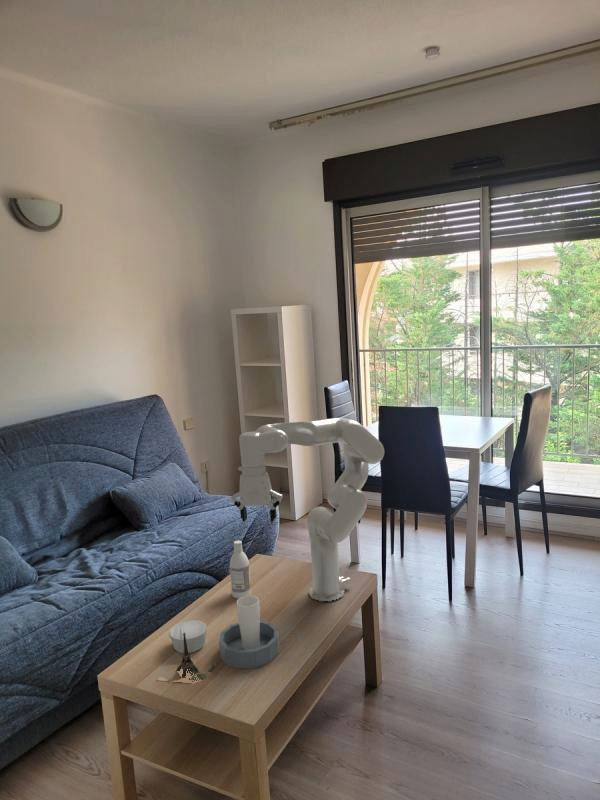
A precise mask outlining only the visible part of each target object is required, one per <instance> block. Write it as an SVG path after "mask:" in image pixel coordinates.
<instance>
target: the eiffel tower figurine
mask: <svg viewBox="0 0 600 800" xmlns="http://www.w3.org/2000/svg"><path fill="white" fill-rule="evenodd" d="M185 635H186V634H185V633H183V636H184V653H182V659H181V661H180V664H179V666H178V667H177V668H176V670H177V671H180V669H181V668H182V669H183V674H182V678H186V677H185V676H186V671H187V669H188V671H189V673H190V674H191V676H192V675H193V673H194V675H193V676H192V678H191V679H190V678H189V680H194V681H195V680H196V678H197V680H198V679H199V680H200V679H201V680H204V679H205V680H206V679H207V677H208V673H210V674H211V673H214V670H215V668H216V667H217V663H214V664H213V665H212V666H211V667H210V668H208V669H207V672H206V673H201V671H200V670H199V669H198V668H197V666H196V664H194V661H193V660H192V659H191V656H190V653H188V649H187V643H186V637H185ZM195 666H196V667H195ZM189 669H190V670H189ZM188 671H187V673H188ZM190 671H191V672H192V673H191V672H190ZM195 674H196V675H197V676H196V675H195ZM194 676H196V677H194ZM194 678H195V679H194ZM197 680H196V681H197ZM199 680H198V681H199ZM205 680H204V681H205ZM192 682H193V681H192Z"/></svg>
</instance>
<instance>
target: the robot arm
mask: <svg viewBox="0 0 600 800" xmlns="http://www.w3.org/2000/svg"><path fill="white" fill-rule="evenodd" d="M238 441H239V451H240V461H241V466H238V467H237V471H239V472H241V474H240V475H239V491H238V492H236V493H234V494H233V495H232V496H230V498H231V500H232V502H233V504H234V505H235V506H236V507H237V508H238V510H239V513H240V519H241V521H242V522H243V523H244V522H246V521H247V519H248V511H247V506H253V507H255V506H258V507H259V506H268V507H269V508H270V510H269V516H270V517H269V518H270V522H272V523H273V522H274V521H275V520H276V519H277V507H278V506H279V505H280V504H281V502H282V499H283V497H284V496H283V494H281V493H280V492H277V491H275V490H273V489H272V483H271V480H270V476H269V472H267V470H266V461H265V454H268V453H269V454H271V453H272V454H273V453H280V452H282V451H284V450H285V449H286V448H287V447H288V445H298V446H303V447H315V446H316V447H317V446H320V445H328V444H335V443H341V444H345V451H346V457H347V462H346V467H345V469H344V471H343V472H342V473H341V475H340V477H338V479H337V480H336V482H335V483H334V485H333V486H332V487H331V488H330V490H329V492H328V493H327V503H328V504H329V505H330V506H331V507H332V508H334V509H335V511H334V510H332V509H330V508H328V507H325V506H316V507H313V508H312V509H311V510H310V511H309V513H308V515H307V517H306V526H307V531H308V535H309V540H310V542H309V543H310V555H311V571H312V573H311V574H312V586H311V587H310V588H309V590H308V595H309V596H310V598H311V599H313V600H314V599H315V601H317V600H318V601H317V602H323V601H328V602H333V601H332V600H334V601H337V600H340V599H341V598H342V597H344V595H345V593H344V592H345V588H344V586H345V585H347V584H350V583H352V579H351V577H348V576H347V577H346V578H345V577H344V576H340V564H339V563H340V562H339V546H338V545H339V543H342V542H344V540H345V539H347V537H348V536H349V535H350V533H351V532H352V531H353V529H354V528H355V527H356V525H357V524H358V523H359V522H360V519H362V517H363V515H364V513H365V511H366V510H367V505H368V497H367V495H366V494H365V493H364V491H362V490H361V489H362V488H363V487H364V485H365V484H366V482H367V480H368V476H369V472H370V471H369V465H376V464H378V463H380V462H382V460H383V459H384V456H385V448H384V444H383V443H382V442H381V440H379V439H378V437H376V436H374V435H373V434H372V433H371V431H369V430H368V429H367V428H366V427H365V426H363V425H362V424H361V423H360V422H358V421H356V420H353V419H349V418H347V417H346V418H345V417H334V418H333V417H332V418H325V419H318V420H309V421H308V420H307V421H294V422H290V421H289V422H279V423H278V422H277V423H271V424H270V423H269V424H264V425H261V426H260V427H258V428H257V429H256V430H255V431H246V432H243V433H241V434H240V435H239V438H238ZM273 497H274V498H276V500H275V501H274V500H273V499H274V498H273ZM238 498H239V499H238ZM340 597H341V598H340ZM339 598H340V599H339ZM336 599H337V600H336Z"/></svg>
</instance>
